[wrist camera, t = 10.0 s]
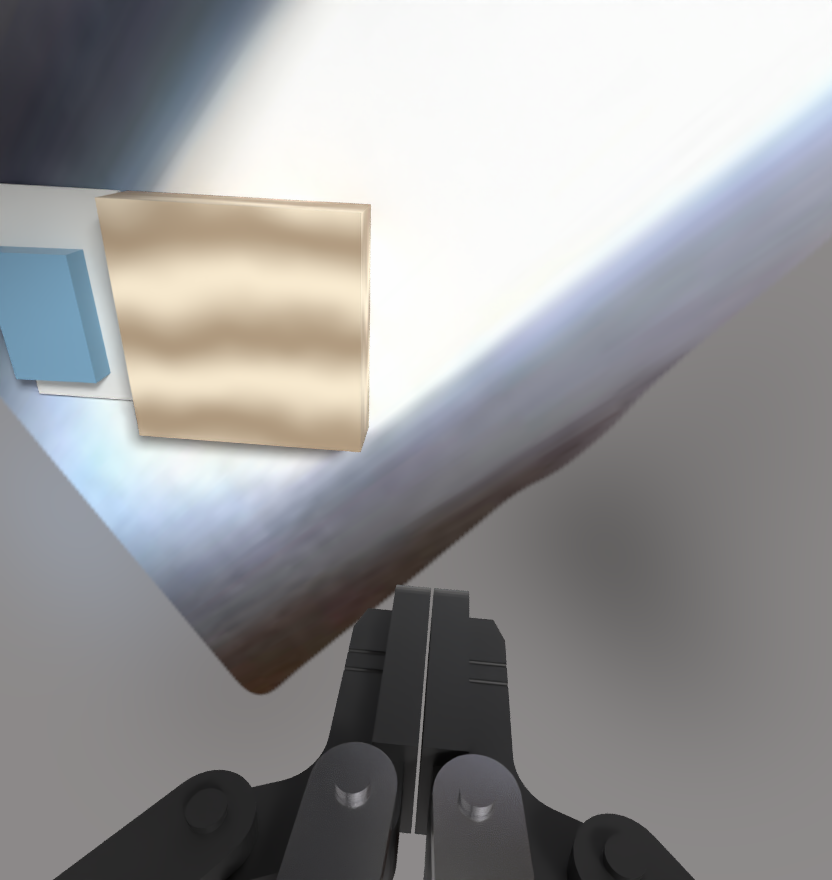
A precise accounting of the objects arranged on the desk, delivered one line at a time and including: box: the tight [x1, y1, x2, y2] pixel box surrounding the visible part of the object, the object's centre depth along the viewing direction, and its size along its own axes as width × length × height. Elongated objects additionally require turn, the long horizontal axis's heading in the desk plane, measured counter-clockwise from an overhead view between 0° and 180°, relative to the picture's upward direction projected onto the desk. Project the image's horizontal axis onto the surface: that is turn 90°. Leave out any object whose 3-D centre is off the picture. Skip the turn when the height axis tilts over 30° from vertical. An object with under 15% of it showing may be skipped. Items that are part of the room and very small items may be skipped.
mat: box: [0, 183, 133, 400], centre depth 43 cm, size 15×9×1 cm, turn 177°
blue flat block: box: [0, 246, 111, 383], centre depth 43 cm, size 9×6×2 cm, turn 179°
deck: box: [95, 191, 371, 452], centre depth 41 cm, size 16×16×4 cm
